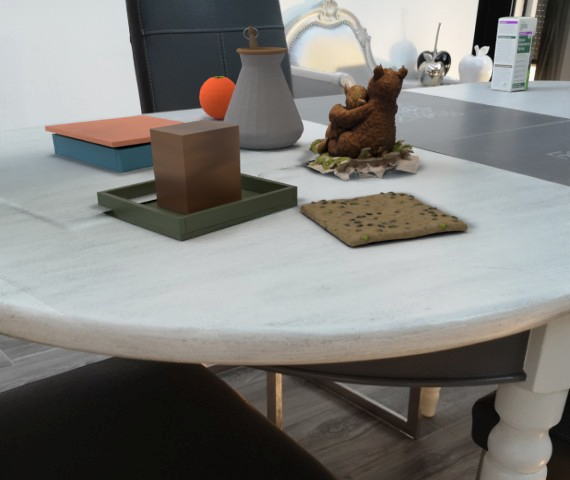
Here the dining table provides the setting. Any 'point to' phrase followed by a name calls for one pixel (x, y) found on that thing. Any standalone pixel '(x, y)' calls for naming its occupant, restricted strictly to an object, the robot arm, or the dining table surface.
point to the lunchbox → (105, 153)
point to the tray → (255, 203)
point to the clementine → (216, 96)
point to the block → (196, 165)
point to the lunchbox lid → (113, 130)
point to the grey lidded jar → (263, 100)
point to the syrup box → (513, 53)
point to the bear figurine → (365, 131)
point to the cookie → (380, 218)
